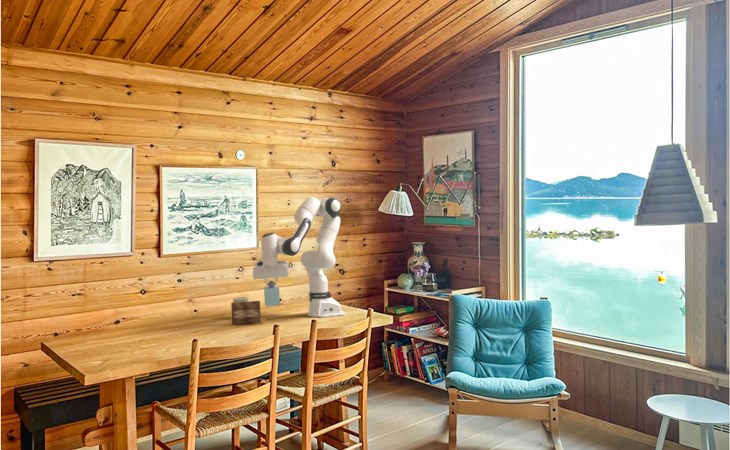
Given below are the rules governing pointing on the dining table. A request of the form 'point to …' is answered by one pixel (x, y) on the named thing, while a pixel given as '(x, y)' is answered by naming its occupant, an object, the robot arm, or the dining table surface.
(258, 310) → the wall board
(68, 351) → the dining table surface
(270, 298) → the blue square bottle
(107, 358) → the dining table surface
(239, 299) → the can
